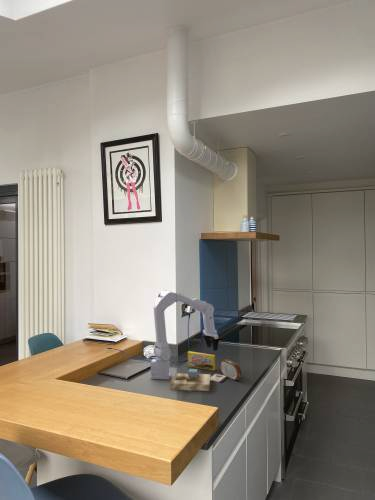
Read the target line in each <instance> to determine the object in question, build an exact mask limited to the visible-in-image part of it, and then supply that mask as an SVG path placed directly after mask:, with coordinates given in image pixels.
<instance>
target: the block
mask: <svg viewBox="0 0 375 500" xmlns="http://www.w3.org/2000/svg"><path fill="white" fill-rule="evenodd" d="M197 373H198V368H196V369H195V368H189V369H188V372H187V374H188V377H189V378H197Z"/></svg>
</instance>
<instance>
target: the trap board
mask: <svg viewBox="0 0 375 500" xmlns="http://www.w3.org/2000/svg"><path fill="white" fill-rule="evenodd" d="M211 375H212V374H210V373H208V374H207V373H199V372H197V378H189V377H188V373H179V372H178V373H176V372H175V373H174V375H173V378H171V379H172V380H171V382H170V390H173V391H198V392H199V391H200V392H201V391H203V392H205V391H206V392H210V387H211V382H212V381H211Z"/></svg>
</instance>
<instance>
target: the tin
mask: <svg viewBox="0 0 375 500" xmlns="http://www.w3.org/2000/svg"><path fill="white" fill-rule="evenodd" d="M220 369H221V371H222V373H223V374H224V375H226V376H228V377H229V378H228V379H231V380H233V381H238V380H241V378H242V374H243V373H242V370H241V369H242V368H241V367H240V365H239V364H238V363H237V362H235V361H232V360H230V359H228V358H225V359H222V360H221V362H220Z"/></svg>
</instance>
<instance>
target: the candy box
mask: <svg viewBox="0 0 375 500" xmlns="http://www.w3.org/2000/svg"><path fill="white" fill-rule="evenodd" d="M187 367H192V368H196V369H201V370H202V369H203V370H209V371H216V355H215V354H210V353H209V354H208V353H204V352H203V353H202V352H197V351H192V350H191V351H190V350H189V351H187Z"/></svg>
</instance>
